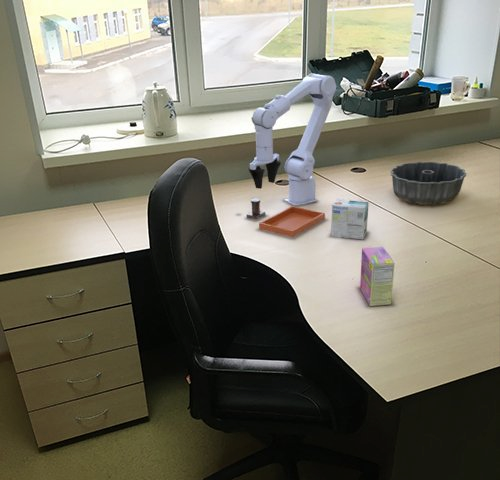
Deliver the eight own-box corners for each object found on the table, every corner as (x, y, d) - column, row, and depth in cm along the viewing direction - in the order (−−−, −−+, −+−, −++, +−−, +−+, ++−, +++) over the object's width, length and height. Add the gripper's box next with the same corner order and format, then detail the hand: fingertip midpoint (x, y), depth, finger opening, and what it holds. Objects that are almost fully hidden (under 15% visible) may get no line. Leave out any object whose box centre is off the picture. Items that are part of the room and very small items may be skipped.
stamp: (256, 213, 209) (255, 196, 205) (265, 216, 206) (265, 198, 203) (246, 218, 205) (246, 201, 202) (255, 221, 203) (255, 203, 199)
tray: (292, 212, 209) (292, 205, 207) (324, 220, 201) (325, 213, 200) (259, 230, 195) (258, 222, 194) (292, 238, 188) (292, 231, 187)
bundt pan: (381, 206, 211) (384, 178, 206) (395, 184, 232) (397, 158, 226) (458, 213, 202) (462, 185, 197) (465, 190, 223) (469, 163, 217)
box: (359, 288, 158) (361, 247, 151) (379, 286, 158) (383, 246, 152) (368, 306, 149) (372, 264, 143) (391, 305, 149) (395, 262, 143)
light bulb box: (367, 232, 191) (369, 200, 185) (363, 240, 185) (366, 207, 180) (334, 229, 194) (336, 197, 188) (330, 236, 188) (331, 204, 183)
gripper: (267, 139, 206) (268, 178, 213) (241, 148, 196) (243, 188, 203) (284, 142, 202) (284, 181, 209) (258, 151, 192) (259, 192, 200)
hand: (265, 185), depth 206 cm, fingers open, 7 cm apart
